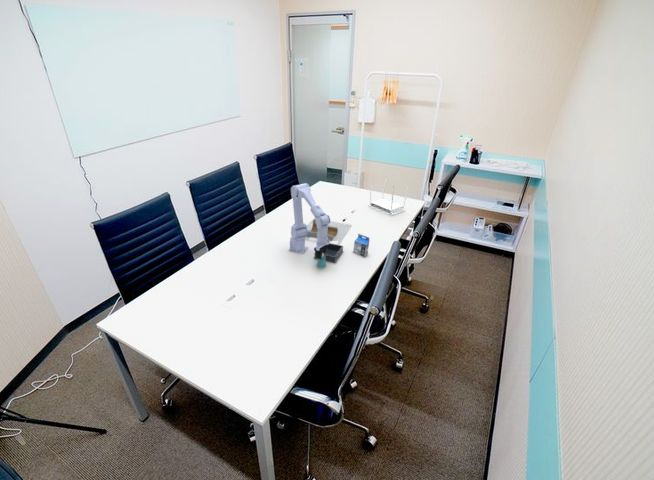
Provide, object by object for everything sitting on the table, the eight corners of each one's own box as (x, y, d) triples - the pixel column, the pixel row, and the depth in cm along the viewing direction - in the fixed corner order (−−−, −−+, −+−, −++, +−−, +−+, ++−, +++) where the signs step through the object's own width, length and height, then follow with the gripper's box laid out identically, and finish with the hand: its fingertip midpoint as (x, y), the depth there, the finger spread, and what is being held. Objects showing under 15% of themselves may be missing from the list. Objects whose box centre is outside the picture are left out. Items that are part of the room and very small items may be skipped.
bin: (314, 258, 208) (314, 252, 206) (323, 247, 220) (323, 241, 218) (335, 263, 204) (335, 257, 201) (342, 251, 216) (343, 245, 214)
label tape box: (352, 252, 215) (354, 235, 209) (356, 250, 218) (358, 233, 211) (364, 257, 210) (366, 239, 204) (367, 254, 213) (370, 237, 206)
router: (382, 201, 291) (386, 174, 278) (405, 210, 274) (410, 182, 261) (367, 206, 281) (370, 178, 268) (389, 216, 264) (394, 186, 251)
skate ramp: (296, 238, 232) (296, 228, 228) (314, 218, 259) (314, 209, 255) (336, 245, 222) (337, 235, 218) (350, 225, 250) (351, 215, 246)
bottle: (315, 266, 200) (316, 254, 195) (318, 262, 204) (319, 250, 199) (323, 268, 198) (324, 256, 194) (326, 264, 202) (327, 252, 198)
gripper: (324, 242, 183) (323, 262, 190) (333, 231, 194) (331, 251, 202) (312, 239, 185) (312, 260, 193) (321, 229, 197) (320, 249, 204)
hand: (321, 255), depth 197 cm, fingers open, 7 cm apart
